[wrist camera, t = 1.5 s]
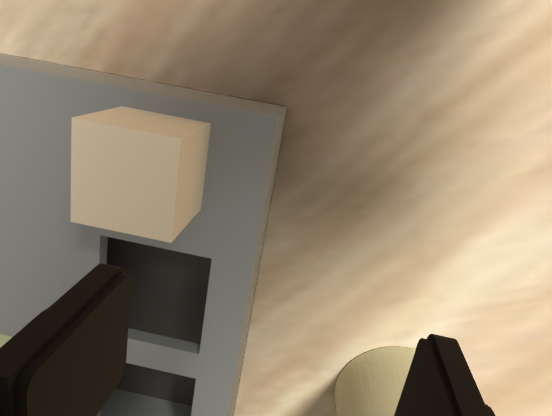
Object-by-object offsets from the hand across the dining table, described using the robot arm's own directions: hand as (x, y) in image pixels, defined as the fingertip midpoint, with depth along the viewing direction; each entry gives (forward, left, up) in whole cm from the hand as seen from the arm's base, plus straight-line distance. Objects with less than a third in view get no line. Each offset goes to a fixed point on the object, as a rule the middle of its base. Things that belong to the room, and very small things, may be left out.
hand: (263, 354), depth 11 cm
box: (+10, -13, -20) cm, 25 cm away
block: (0, -8, -15) cm, 17 cm away
